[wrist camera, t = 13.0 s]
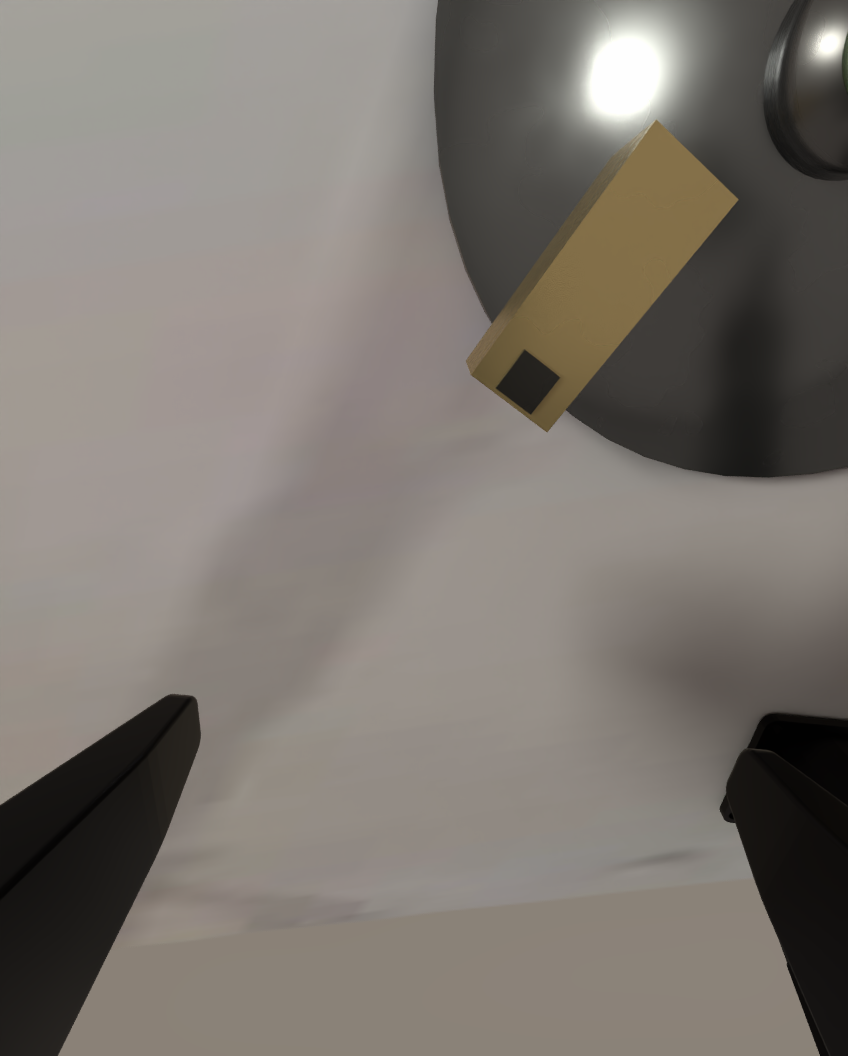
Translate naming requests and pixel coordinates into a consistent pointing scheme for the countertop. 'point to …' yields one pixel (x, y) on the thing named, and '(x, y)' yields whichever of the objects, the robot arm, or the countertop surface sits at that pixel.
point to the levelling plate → (728, 252)
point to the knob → (600, 274)
